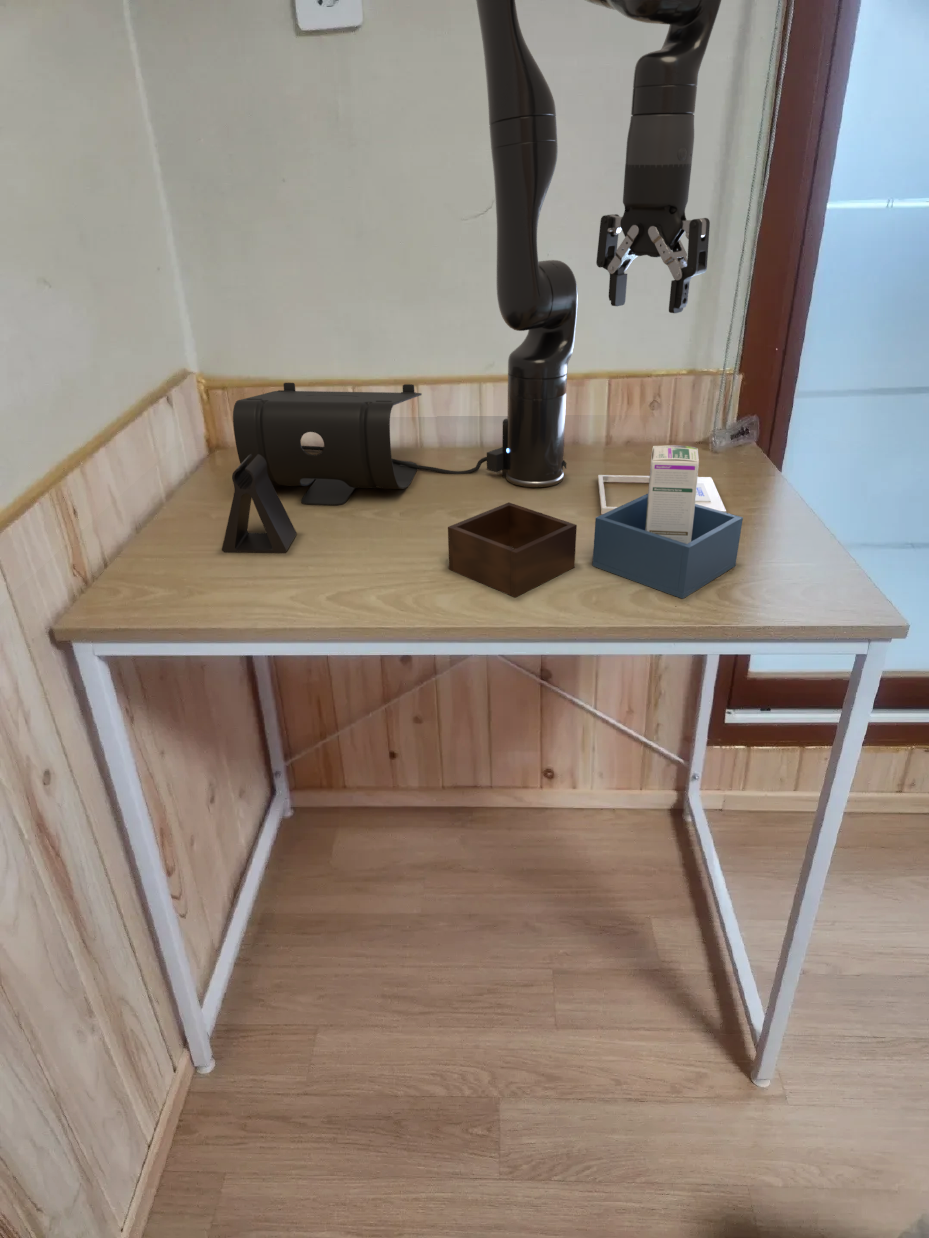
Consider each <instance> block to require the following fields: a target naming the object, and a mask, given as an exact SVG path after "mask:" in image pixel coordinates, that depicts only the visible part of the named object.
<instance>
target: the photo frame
mask: <svg viewBox="0 0 929 1238" xmlns="http://www.w3.org/2000/svg"><path fill="white" fill-rule="evenodd" d="M649 477H650V475H626V474H625V475H624V474H623V475H622V474H620V475H619V474H598V475H597V484H598V485H597V487H598V495H599V505H600V514H601V515H602V514H605V513H607V512H609V511H611V510H613V509H615V508H617V507H618V506H607V501H606V493H605V485H604V484H605V483H643V484H644V483H646V484H649ZM695 504H697V505H701V506H704V507H708V508H711V509H715V510H718V511H722V512H726V513H727V509H726V507H725V505H724V503H723V500H722V497H721V496H720V494H719V491H718V489H717V487H716V484H715V482H714V480H713V478H712V476H698V478H697V488H696V499H695Z"/></svg>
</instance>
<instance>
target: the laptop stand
mask: <svg viewBox="0 0 929 1238" xmlns="http://www.w3.org/2000/svg"><path fill="white" fill-rule="evenodd" d="M420 396H422V393H421V392H416V391H415V385H414V384H413V383H412V384H411V383H404V384H403V385H402V391H401V392H385V391H384V392H383V391H382V392H379V391H378V392H377V391H323V390H322V391H319V390H318V391H317V390H315V391H314V390H313V391H311V390H310V391H309V390H307V391H306V390H296V384H295V382H284V383H283V390H280V389H278V390H274V391H273V390H272V391H270V392H269V391H268V392H266V393H262V394H257V395H253V396H250V397H246V398H242V399H238V400H236V401H235V403H234V406H233V411H232V424H233V425H232V427H233V434H234V440H235V446H236V452H237V455H238V462H239V465H240V464H241V463H242V462H243V461H244V460H245V459H246V458H247V457H248V456H249V455H250V454H252V457H251V458H250V459H249V460H248V461H247V465H249V464H250V463H251V462H252V460H253V459H254V458H255V457H256V456H257V455H258V454H259V455H261V456H262V457H263V458H264V459H265V460H266V463H267V474H268V477H269V479H270V481H271V483H272V485H273V486H284V487H308V486H310V487H309V488H308V489H307V491H306V492H305V493H304V495H303V496H302V497H301V499H300V502H301V504H303V505H306V506H342V505H344V504H346V503H347V502H348V500H349V499H350V497H351V496H352V495H353V493H354V492H355V491H356V489H357V488H359V489H360V488H361V489H377V488H379V489H387V490H388V489H389V490H390V489H391V490H405V489H406V488H408V487H409V486H410V485H411V484H412V482H413V480H414V477H415V476H416V474H417V471H418V469H415V468H411V467H408V466H406V465H402V464H396V463H392V459H393V457H392V445H391V444H392V443H391V413H392V410H393V407H394V406H396V405H398V404H402V403H404V402H406V401H409V400H412V399H415V398H417V397H420ZM307 433H315V434H317V435H319V436H320V438H321V439H322V442H323V447H324V449H323V451H321V452H319V453H318V454H311V453H308V451H306V450H303V448H302V446H303V445H302V439H303V436H304V435H305V434H307ZM402 461H403V462H407V463H410V464H415V465H418V464H417V463H416V462H413V461H408V460H402Z"/></svg>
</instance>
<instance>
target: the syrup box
mask: <svg viewBox="0 0 929 1238" xmlns="http://www.w3.org/2000/svg"><path fill="white" fill-rule="evenodd" d="M651 449H652V450H651V455H650V466H649V476H650V477H649V483H648V491H647V494H648V500H647V514H646V527H645V531H648V532H651V533H654V534H658V535H661V536H664V537H667V538H670V539H673V540H676V541H680V542H683V543H686V544H688V543H690V542H691V538H692V529H693V519H694V510H695V499H696V488H697V478H698V477H699V476H698V475H699V466H700V459H699V458H700V457H699V449H698V447H695V446H688V445H679V444H676V445H675V444H672V445H671V444H670V445H669V444H668V445H667V444H666V445H653V446H652V448H651Z"/></svg>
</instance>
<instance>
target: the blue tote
mask: <svg viewBox="0 0 929 1238" xmlns="http://www.w3.org/2000/svg"><path fill="white" fill-rule="evenodd" d="M647 500H648V493H646V494H643V495H641V496H639V497H637V498H635V499H633V500H631V501H628V502H626V503H624V504H621V505H620V506H616V507H617V508H615V509H613V510H611V511H609V512H607V513H605V514H601V515H598V516H596V517H595V521H594V533H593V534H594V535H593V551H592V564H591V565H592V567H594V568H597V569H600V570H602V571H605V572H608V573H610V574H613V575H617V576H618V577H622V578H625V579H627V580H630V581H633V582H635V583H638V584H641V585H644V586H646V587H649V588H652V589H655V590H657V591H660V592H663V593H666V594H668V595H671V596H674V597H676V598H679V599H682V600H683V599H685V598H686V597H689V596H690V595H692V594H693V593H695V592H696V591H698V590H700V589H702V588H703V587H704V586H706V585H707V584H709V583H711V582H712V581H714V580H716V579H717V578H719V577H721V576H722V575H723V574H725V573H727V572H728V571H730V570H732V569H733V568H735V567H736V566H737V565H736V564H737V560H738V559H737V558H738V552H739V546H740V539H741V532H742V527H743V521H744V520H743V519H744V517H743V516H740V515H736V514H732V513H730V512H727V511H726V512H722V511H718V510H715V509H711V508H708V507H704V506H701V505H697V504H695V510H694V519H693V529H692V538H691V542H690V543H688V544H686V543H683V542H680V541H676V540H673V539H670V538H667V537H664V536H661V535H658V534H654V533H651V532H648V531H645V527H646V514H647Z"/></svg>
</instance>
